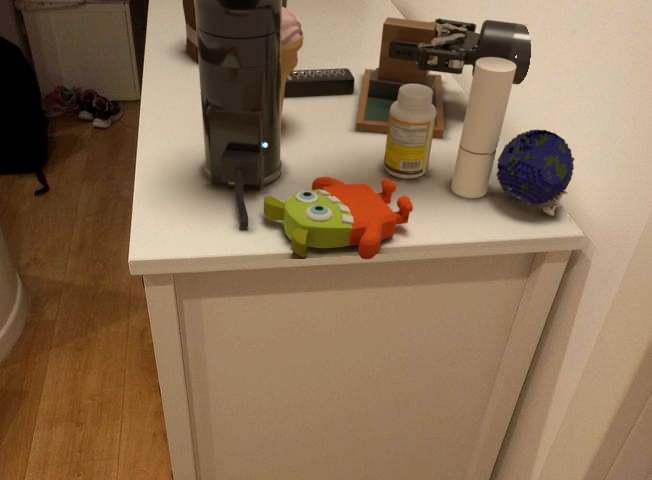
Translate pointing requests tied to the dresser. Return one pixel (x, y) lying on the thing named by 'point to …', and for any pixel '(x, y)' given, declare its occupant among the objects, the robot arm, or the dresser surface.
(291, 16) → the ice cream cone
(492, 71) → the tube
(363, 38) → the dresser surface
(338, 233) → the toy
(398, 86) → the duster
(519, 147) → the globe
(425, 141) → the supplement bottle
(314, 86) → the multiport hub
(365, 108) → the chalkboard
